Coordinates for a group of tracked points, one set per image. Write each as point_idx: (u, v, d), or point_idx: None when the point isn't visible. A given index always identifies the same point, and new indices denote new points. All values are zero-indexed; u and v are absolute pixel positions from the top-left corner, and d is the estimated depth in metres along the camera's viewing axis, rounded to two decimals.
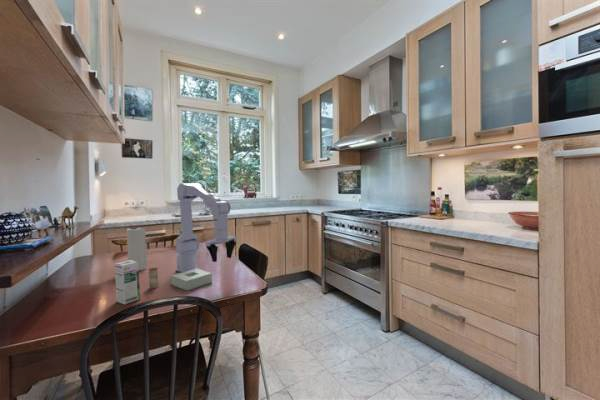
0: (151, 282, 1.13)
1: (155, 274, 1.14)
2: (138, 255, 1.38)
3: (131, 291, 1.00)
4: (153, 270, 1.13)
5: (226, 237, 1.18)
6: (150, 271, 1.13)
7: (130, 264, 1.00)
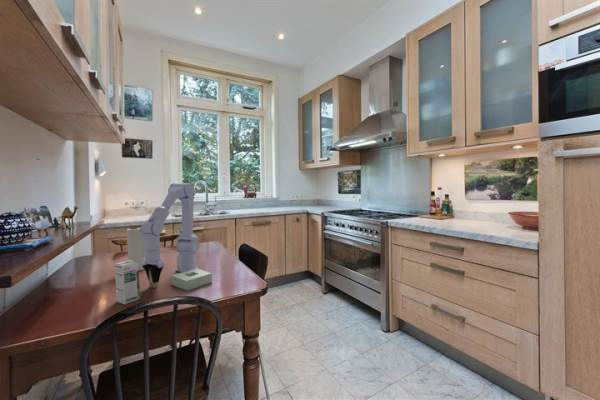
0: (151, 282, 1.13)
1: None
2: (138, 255, 1.38)
3: (131, 291, 1.00)
4: None
5: (146, 259, 1.12)
6: None
7: (130, 264, 1.00)
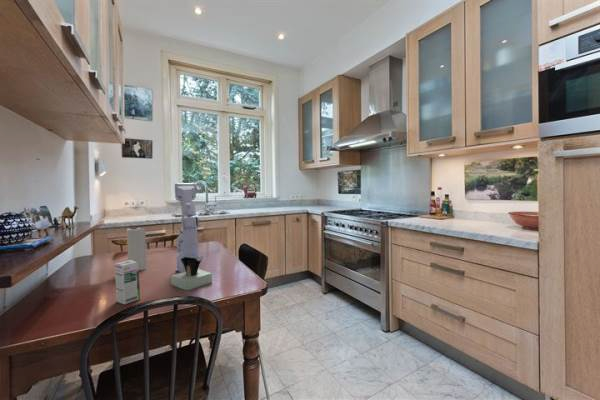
0: None
1: None
2: (138, 255, 1.38)
3: (131, 291, 1.00)
4: None
5: (185, 253, 1.16)
6: (188, 267, 1.17)
7: (130, 264, 1.00)
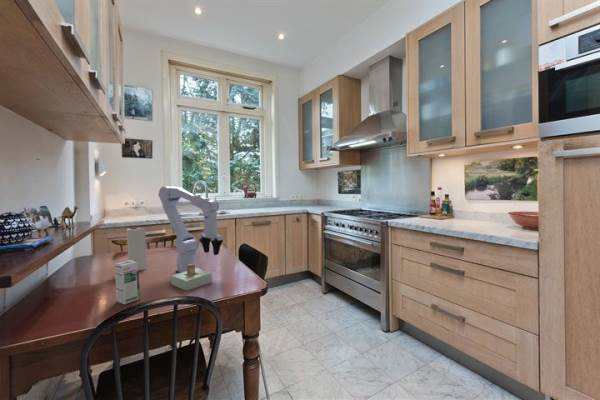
0: None
1: (192, 271, 1.18)
2: (138, 255, 1.38)
3: (131, 291, 1.00)
4: (191, 267, 1.17)
5: (206, 233, 1.28)
6: (188, 267, 1.17)
7: (130, 264, 1.00)
